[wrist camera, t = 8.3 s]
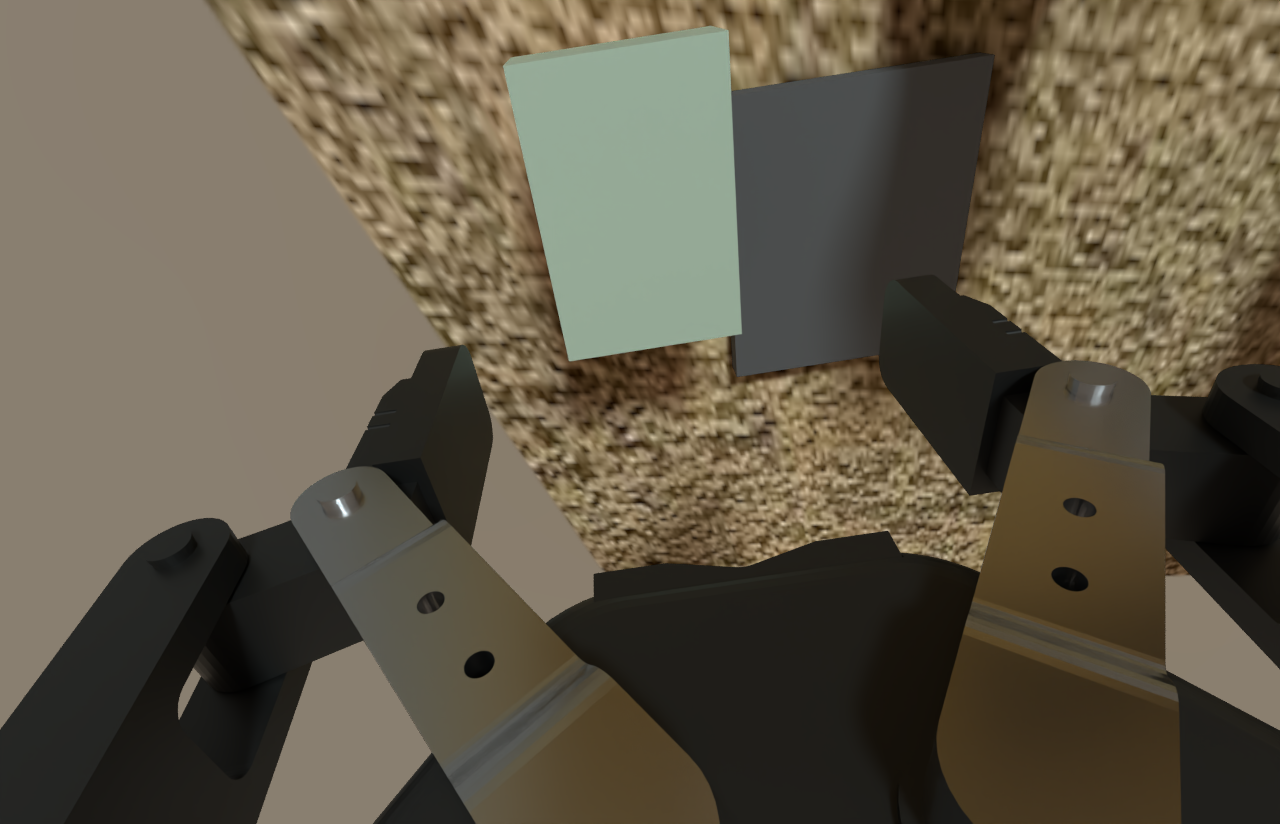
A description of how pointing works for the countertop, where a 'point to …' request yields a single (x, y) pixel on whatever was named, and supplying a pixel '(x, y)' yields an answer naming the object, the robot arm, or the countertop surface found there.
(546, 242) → the block
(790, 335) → the mat
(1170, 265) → the countertop surface
